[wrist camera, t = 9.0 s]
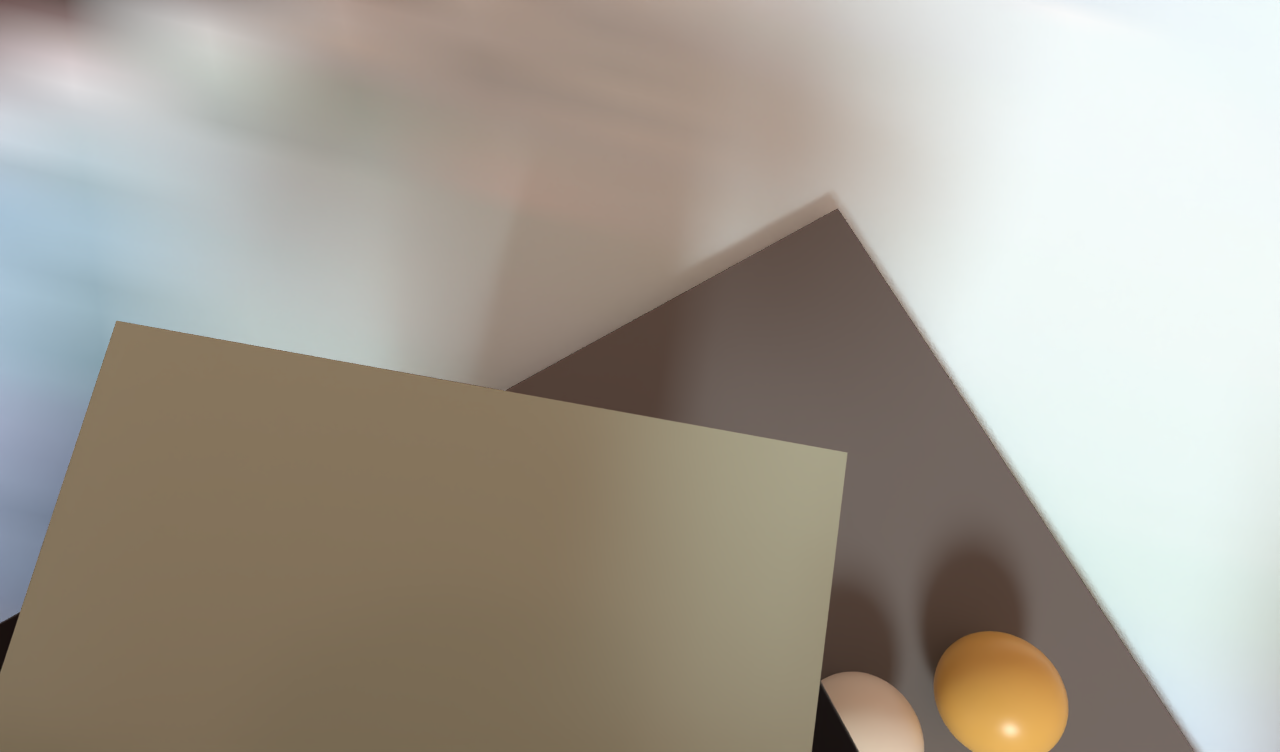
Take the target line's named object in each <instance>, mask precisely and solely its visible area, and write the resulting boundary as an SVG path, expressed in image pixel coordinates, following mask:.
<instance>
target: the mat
mask: <svg viewBox="0 0 1280 752" xmlns="http://www.w3.org/2000/svg"><path fill="white" fill-rule="evenodd" d="M506 391H509V392H514V393H520V394H525V395H531V396H536V397H542V398H547V399H553V400H559V401H564V402H570V403H575V404H581V405H586V406H592V407H597V408H603V409H608V410H614V411H620V412H625V413H631V414H636V415H642V416H647V417H653V418H658V419H664V420H669V421H675V422H681V423H686V424H692V425H697V426H703V427H708V428H714V429H719V430H725V431H730V432H736V433H742V434H747V435H753V436H758V437H764V438H769V439H775V440H780V441H786V442H791V443H797V444H803V445H808V446H814V447H819V448H825V449H830V450H836V451H841V452H847V461H846V470H845V478H844V486H843V495H842V503H841V511H840V520H839V528H838V536H837V545H836V553H835V561H834V570H833V578H832V586H831V595H830V603H829V611H828V620H827V628H826V636H825V645H824V653H823V661H822V670H821V678H820V680H823V679H825V678H826V677H828V676H831V675H833V674H837V673H841V672H852V671H853V672H863V673H868V674H871V675H873V676H876V677H879V678H881V679H883V680H885V681H886V682H888V683H889V684H891V685H892V686H893V687H895V688H896V689H897V690H898V691H899V692H900V693H901V694H902V695H903V696H904V697H905V698H906V699H907V701H908V702H909V704H910V705H911V707H912V708H913V710H914V712H915V713H916V715H917V717H918V720H919V723H920V725H921V729H922V733H923V739H924V752H972V751H971V750H969V749H968V748H967V747H965V746H964V745H963V744H962V743H961V742H959V741H958V740H957V739H956V738H955V737H954V735H953V734H952V733H951V732H950V731H949V729H948V728H947V726H946V725H945V723H944V722H943V720H942V718H941V716H940V714H939V711H938V708H937V706H936V702H935V698H934V686H933V683H934V675H935V671H936V667H937V665H938V662H939V660H940V658H941V656H942V655H943V653H944V652H945V651H946V649H947V648H948V647H949V646H950V645H952V644H953V643H954V642H955V641H957V640H959V639H960V638H962V637H964V636H966V635H969V634H972V633H976V632H983V631H997V632H1003V633H1008V634H1011V635H1014V636H1016V637H1019V638H1021V639H1023V640H1025V641H1027V642H1029V643H1030V644H1032V645H1033V646H1035V647H1036V648H1037V649H1039V650H1040V651H1041V652H1042V653H1043V654H1044V655H1045V656H1046V657H1047V658H1048V659H1049V660H1050V661H1051V663H1052V664H1053V665H1054V667H1055V668H1056V669H1057V671H1058V673H1059V675H1060V677H1061V679H1062V681H1063V684H1064V686H1065V689H1066V693H1067V698H1068V709H1069V710H1068V719H1067V724H1066V727H1065V730H1064V732H1063V734H1062V736H1061V738H1060V739H1059V741H1058V742H1057V744H1056V745H1055V746H1054V747H1053V748H1052V749H1051V750H1050V751H1048V752H1194V751H1193V749H1192V748H1191V746H1190V745H1189V743H1188V741H1187V740H1186V738H1185V737H1184V735H1183V734H1182V732H1181V731H1180V729H1179V728H1178V726H1177V725H1176V723H1175V722H1174V720H1173V719H1172V717H1171V716H1170V714H1169V712H1168V711H1167V709H1166V708H1165V706H1164V705H1163V703H1162V702H1161V700H1160V699H1159V697H1158V696H1157V694H1156V693H1155V691H1154V690H1153V688H1152V687H1151V685H1150V684H1149V682H1148V680H1147V679H1146V677H1145V676H1144V674H1143V673H1142V671H1141V670H1140V668H1139V667H1138V665H1137V664H1136V662H1135V661H1134V659H1133V658H1132V656H1131V655H1130V653H1129V652H1128V650H1127V648H1126V647H1125V645H1124V644H1123V642H1122V641H1121V639H1120V638H1119V636H1118V635H1117V633H1116V632H1115V630H1114V629H1113V627H1112V626H1111V624H1110V623H1109V621H1108V620H1107V618H1106V616H1105V615H1104V613H1103V612H1102V610H1101V609H1100V607H1099V606H1098V604H1097V603H1096V601H1095V600H1094V598H1093V597H1092V595H1091V594H1090V592H1089V591H1088V589H1087V588H1086V586H1085V584H1084V583H1083V581H1082V580H1081V578H1080V577H1079V575H1078V574H1077V572H1076V571H1075V569H1074V568H1073V566H1072V565H1071V563H1070V562H1069V560H1068V559H1067V557H1066V556H1065V554H1064V552H1063V551H1062V549H1061V548H1060V546H1059V545H1058V543H1057V542H1056V540H1055V539H1054V537H1053V536H1052V534H1051V533H1050V531H1049V530H1048V528H1047V527H1046V525H1045V524H1044V522H1043V520H1042V519H1041V517H1040V516H1039V514H1038V513H1037V511H1036V510H1035V508H1034V507H1033V505H1032V504H1031V502H1030V501H1029V499H1028V498H1027V496H1026V495H1025V493H1024V492H1023V490H1022V488H1021V487H1020V485H1019V484H1018V482H1017V481H1016V479H1015V478H1014V476H1013V475H1012V473H1011V472H1010V470H1009V469H1008V467H1007V466H1006V464H1005V463H1004V461H1003V460H1002V458H1001V456H1000V455H999V453H998V452H997V450H996V449H995V447H994V446H993V444H992V443H991V441H990V440H989V438H988V437H987V435H986V434H985V432H984V431H983V429H982V427H981V426H980V424H979V423H978V421H977V420H976V418H975V417H974V415H973V414H972V412H971V411H970V409H969V408H968V406H967V405H966V403H965V402H964V400H963V399H962V397H961V395H960V394H959V392H958V391H957V389H956V388H955V386H954V385H953V383H952V382H951V380H950V379H949V377H948V376H947V374H946V373H945V371H944V370H943V368H942V367H941V365H940V363H939V362H938V360H937V359H936V357H935V356H934V354H933V353H932V351H931V350H930V348H929V347H928V345H927V344H926V342H925V341H924V339H923V338H922V336H921V335H920V333H919V331H918V330H917V328H916V327H915V325H914V324H913V322H912V321H911V319H910V318H909V316H908V315H907V313H906V312H905V310H904V309H903V307H902V306H901V304H900V303H899V301H898V299H897V298H896V296H895V295H894V293H893V292H892V290H891V289H890V287H889V286H888V284H887V283H886V281H885V280H884V278H883V277H882V275H881V274H880V272H879V271H878V269H877V267H876V266H875V264H874V263H873V261H872V260H871V258H870V257H869V255H868V254H867V252H866V251H865V249H864V248H863V246H862V245H861V243H860V242H859V240H858V239H857V237H856V235H855V234H854V232H853V231H852V229H851V228H850V226H849V225H848V223H847V222H846V220H845V219H844V217H843V216H842V214H841V213H840V211H839V210H838V209H836V210H834V211H832V212H831V213H829V214H827V215H825V216H823V217H821V218H820V219H818V220H816V221H814V222H812V223H810V224H809V225H807V226H805V227H803V228H801V229H799V230H798V231H796V232H794V233H792V234H790V235H789V236H787V237H785V238H783V239H781V240H779V241H778V242H776V243H774V244H772V245H770V246H768V247H767V248H765V249H763V250H761V251H759V252H757V253H756V254H754V255H752V256H750V257H748V258H747V259H745V260H743V261H741V262H739V263H737V264H736V265H734V266H732V267H730V268H728V269H726V270H725V271H723V272H721V273H719V274H717V275H715V276H714V277H712V278H710V279H708V280H706V281H705V282H703V283H701V284H699V285H697V286H695V287H694V288H692V289H690V290H688V291H686V292H684V293H683V294H681V295H679V296H677V297H675V298H673V299H672V300H670V301H668V302H666V303H664V304H663V305H661V306H659V307H657V308H655V309H653V310H652V311H650V312H648V313H646V314H644V315H642V316H641V317H639V318H637V319H635V320H633V321H632V322H630V323H628V324H626V325H624V326H622V327H621V328H619V329H617V330H615V331H613V332H611V333H610V334H608V335H606V336H604V337H602V338H600V339H599V340H597V341H595V342H593V343H591V344H590V345H588V346H586V347H584V348H582V349H580V350H579V351H577V352H575V353H573V354H571V355H569V356H568V357H566V358H564V359H562V360H560V361H558V362H557V363H555V364H553V365H551V366H549V367H548V368H546V369H544V370H542V371H540V372H538V373H537V374H535V375H533V376H531V377H529V378H527V379H526V380H524V381H522V382H520V383H518V384H516V385H515V386H513V387H511V388H509V389H507V390H506Z"/></svg>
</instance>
